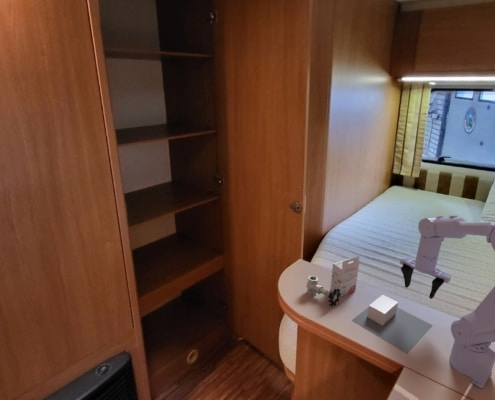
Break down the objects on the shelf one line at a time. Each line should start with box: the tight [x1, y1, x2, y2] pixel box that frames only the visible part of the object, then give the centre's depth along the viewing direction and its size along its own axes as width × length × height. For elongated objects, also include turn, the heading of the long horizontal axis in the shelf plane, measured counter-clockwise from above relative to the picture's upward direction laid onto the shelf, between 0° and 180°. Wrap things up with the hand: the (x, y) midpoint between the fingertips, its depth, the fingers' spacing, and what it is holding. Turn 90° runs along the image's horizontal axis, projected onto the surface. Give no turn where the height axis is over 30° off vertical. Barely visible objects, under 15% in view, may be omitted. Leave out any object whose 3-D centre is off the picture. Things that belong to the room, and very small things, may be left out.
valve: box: [306, 275, 342, 308], centre depth 117 cm, size 7×7×12 cm
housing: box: [367, 294, 399, 326], centre depth 108 cm, size 9×5×4 cm, turn 131°
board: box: [351, 306, 433, 354], centre depth 105 cm, size 18×18×4 cm
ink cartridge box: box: [329, 256, 360, 298], centre depth 120 cm, size 9×5×15 cm, turn 119°
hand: (419, 291), depth 105 cm, fingers open, 7 cm apart
